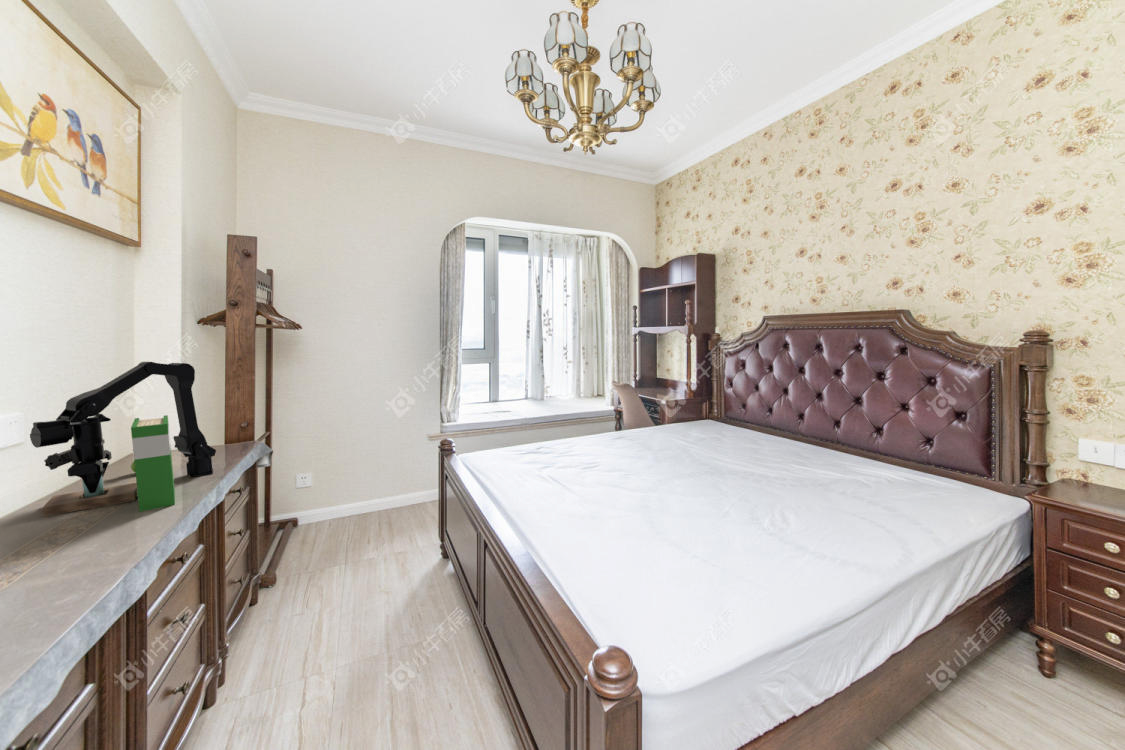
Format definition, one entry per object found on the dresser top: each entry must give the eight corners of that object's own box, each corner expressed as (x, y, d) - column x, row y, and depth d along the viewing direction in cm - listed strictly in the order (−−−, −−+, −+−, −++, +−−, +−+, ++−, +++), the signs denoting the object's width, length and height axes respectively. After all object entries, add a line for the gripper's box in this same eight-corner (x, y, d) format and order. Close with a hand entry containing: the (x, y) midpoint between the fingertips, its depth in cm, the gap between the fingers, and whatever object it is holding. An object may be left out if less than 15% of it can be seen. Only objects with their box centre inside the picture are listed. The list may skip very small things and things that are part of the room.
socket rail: (139, 489, 138) (139, 482, 138) (135, 500, 129) (134, 492, 129) (54, 504, 127) (53, 495, 126) (43, 516, 118) (42, 507, 118)
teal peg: (105, 492, 131) (103, 473, 130) (102, 496, 128) (100, 476, 127) (86, 495, 128) (83, 475, 128) (82, 499, 125) (80, 479, 124)
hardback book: (142, 494, 134) (134, 418, 132) (174, 488, 139) (167, 415, 137) (139, 511, 121) (130, 427, 119) (174, 504, 126) (167, 423, 124)
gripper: (55, 437, 128) (61, 488, 130) (35, 450, 114) (43, 507, 115) (109, 431, 135) (114, 480, 137) (97, 443, 121) (103, 497, 122)
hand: (94, 490), depth 128 cm, fingers closed on teal peg, 4 cm apart
